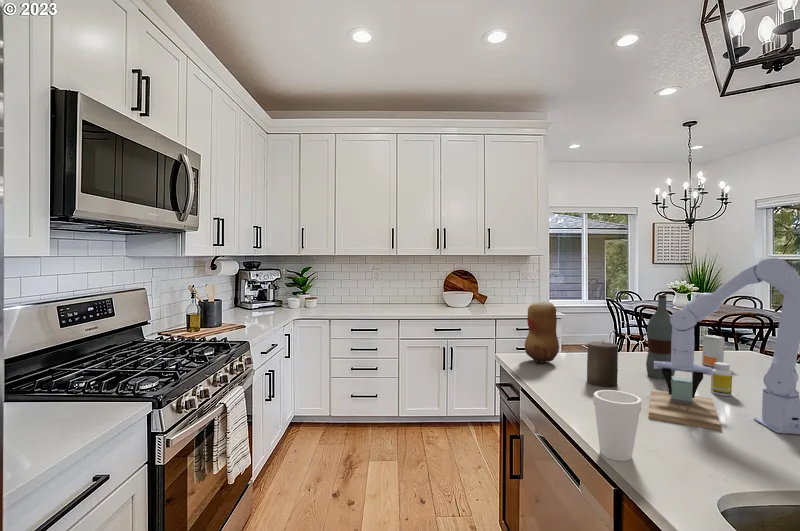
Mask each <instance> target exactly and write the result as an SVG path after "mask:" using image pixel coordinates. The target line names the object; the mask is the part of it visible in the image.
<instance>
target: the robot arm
mask: <svg viewBox="0 0 800 531" xmlns="http://www.w3.org/2000/svg"><path fill="white" fill-rule="evenodd" d="M795 268H796V267H794V266H793V265H792V264H790V263H788V262H787V261H786V260H784V259H782V258H778V257H768V258H765V259H762V260H761V261H760V262H758V264H754V265H751V266H749V267H747V268H746V269H744V270H742V271H740V272H739V273H738V274H736V275H735V276H734V277H732V278H731V279H730V280H728V281H726V282H725V283H724V284H723V285H721V286H720V287H718V288H717V289H716V290H714V291H713V292H703V293H702V294H701V293H698V294H695V295H694V297H695V298H694V299H692V301H690V302H688V303H687V304H683V305H681V306H680V308H681V309H678V310H677V309H676V310H674V312H673V313H672V314H671V315H670V316H671V317H670V323H671V325H672V341H671V362H661V361H654V368H655V369H658V368H659V369H662V374H663V376H664V378H665V379H664V380H665V383H666V385H667V390H668V392H669V395H672V389H671V382H672V379H671V375H672V374H671V370H675V372H676V371H677V372H684V373H691V375H692V377H691V380H692V384H693V390H692V398H694V397H695V396H696V393H697V392H696V391H697V390H698V387H699V386H700V384H701V382H702V380H703V379H704V375H707V376H710V377H711V376H712V370H713V367H711V366H703V365H697V364H695V337H696V336H695V326H697V324H698V322H701V321H703V320H704V319H706V318H708V317H709V316H711V315H712V314H714V313H715V312H717V311H718V310H719V309H721V304H722V302H723V301H724V300H727V298H729V297H731V296H732V295H733V294H735V293H737V292H738V291H740V290H742V289H743V288H744V287H746V286H748V285H753V284H759V283H763V282H765V283H766V284H768V285H771V286H773V287H774V288H775V289H776V290H777V291H778V292H779V293H780V294H781V295H783V300H782V306H781V312H780V317H779V322H778V329H777V334H776V339H775V345H774V349H773V350H774V351H773V356H772V359H771V363H770V366H769V368H768V369H767V372H766V373H765V374H764V376H763V385H764V386H763V387H762V402H761V403H762V405H761V417H756V416H755V417H753V420H755V421H756V422H758V423H759V424H761V425H763V426H765V427H766V428H768V429H770V430H772V431H773V432H775V433H778V434H788V435H789V434H791V435H792V434H793V435H800V391H799V390H797V383H798V381H799V375H798V372H797V370H796V366H797V359H798V354H799V353H798V352H799V348H800V275H799V273H798V271H797V270H796V269H795Z"/></svg>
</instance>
